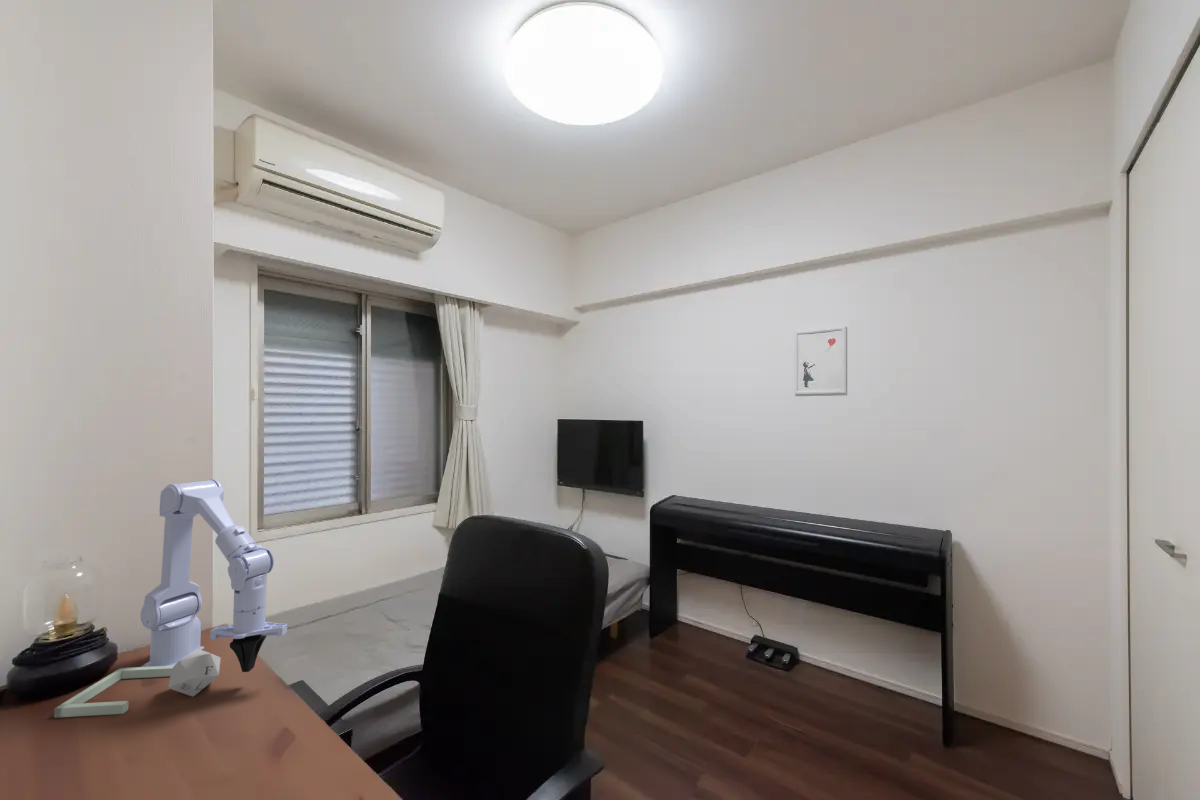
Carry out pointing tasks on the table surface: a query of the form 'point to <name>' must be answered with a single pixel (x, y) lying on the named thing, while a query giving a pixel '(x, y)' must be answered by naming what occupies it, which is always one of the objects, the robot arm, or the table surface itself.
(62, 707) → the bay
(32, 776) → the table surface
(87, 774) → the table surface
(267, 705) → the table surface
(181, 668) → the die
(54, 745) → the table surface
